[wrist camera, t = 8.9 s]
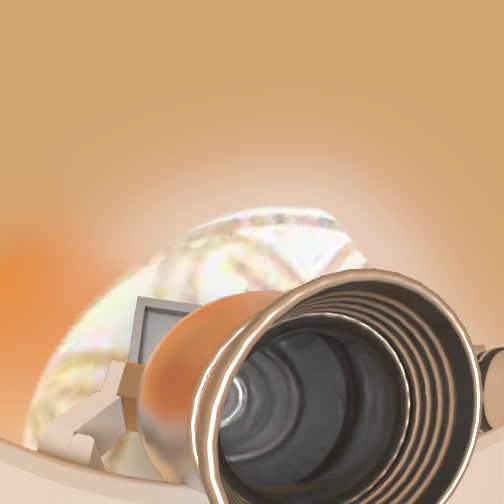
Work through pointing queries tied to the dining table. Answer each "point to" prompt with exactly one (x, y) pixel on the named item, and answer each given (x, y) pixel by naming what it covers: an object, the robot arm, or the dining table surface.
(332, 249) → the dining table surface
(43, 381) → the dining table surface
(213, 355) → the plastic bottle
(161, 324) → the tray
